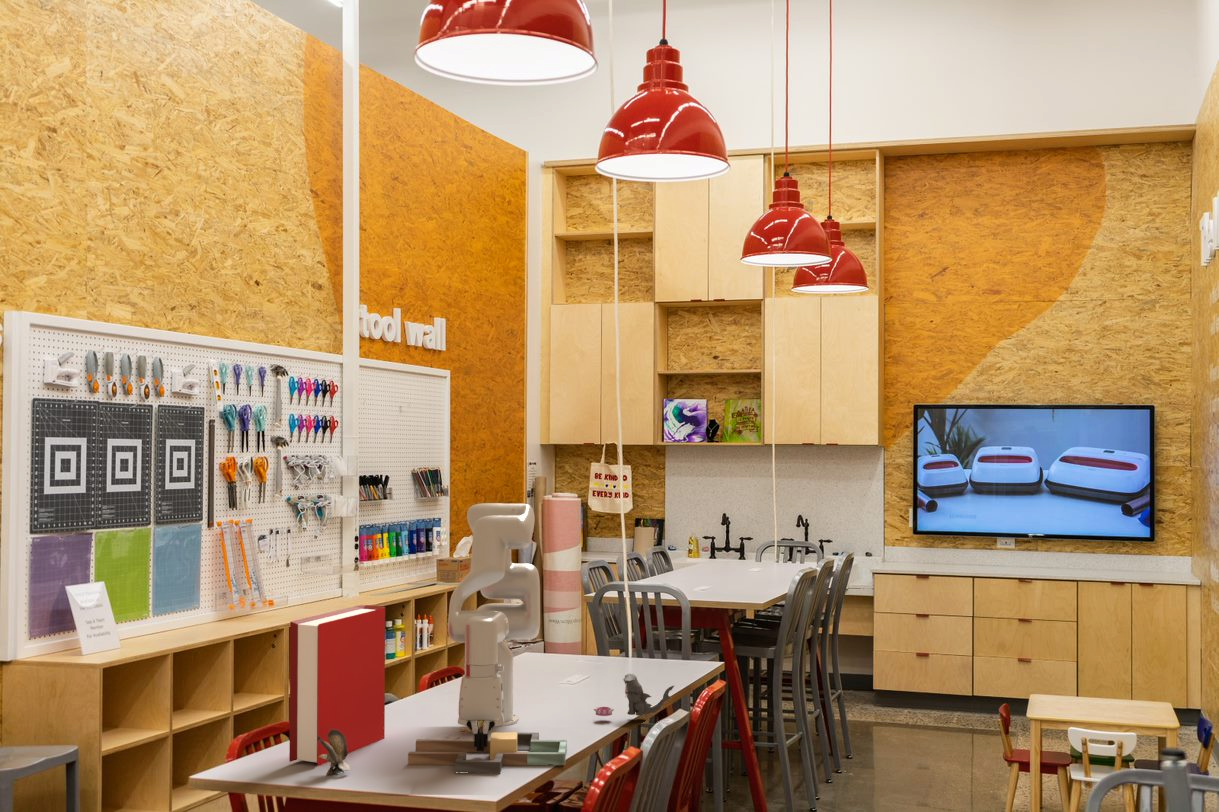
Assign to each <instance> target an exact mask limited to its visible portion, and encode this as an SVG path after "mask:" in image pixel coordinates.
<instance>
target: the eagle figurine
mask: <svg viewBox="0 0 1219 812" xmlns="http://www.w3.org/2000/svg"><path fill="white" fill-rule="evenodd" d="M328 739H329V742H330V744H329V743H327V742H325V741H323V740H322V739H321V738H320V737H319V736H318V740H319V741H320V742H321V743H322V744H323V745H324V747H325V748H326V750H327V751H328V755H325V754H323V755H321V756H319V758H323V759H326V760H327V761H329V762H328V763H330V765H329V769H327V772H326V776H329V775H331V774H335V775H336V776H338V775H339V773H338V772H342V773H343V774H345V771H347V772H349V771H350V769H351V766H350V764H348V763H346V762H345V759H346V758H347V757H348V754H349V753H348V750H347V743H346V738H345V736H344V735H343V734H342V733H341V731H339V730H336V729H335V730H333V729H331V731H330V732H329V733H328Z"/></svg>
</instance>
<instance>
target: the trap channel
mask: <svg viewBox="0 0 1219 812" xmlns="http://www.w3.org/2000/svg"><path fill="white" fill-rule="evenodd" d="M497 733H501V732H499V731H498V732H497ZM567 752H568V740H567V739H540V733H539V732H517V752H497V754H496V757H495V759H494V760H490V759H467V753H490V739H488V746H487V747H485V749H484V751H477V747H474V739H445V738H444V739H437V738H436V739H434V738H433V739H431V738H430V739H427V738H426V739H425V738H424V739H423V738H422V739H421V738H419V739H416V740H415V751H408V753H407V765H409V766H411V765H412V766H413V765H414V766H415V765H416V766H417V765H418V766H419V765H420V766H422V765H423V766H427V765H428V766H429V765H430V766H435V765H437V766H439V765H440V766H442V765H443V766H445V765H446V766H447V765H449V766H455V767H454V773H455V772H468V773H467V774H501V773H500V772H502V769H503V766H549V765H548V764H553V765H552V766H566V758H567Z"/></svg>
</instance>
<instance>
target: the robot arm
mask: <svg viewBox="0 0 1219 812" xmlns="http://www.w3.org/2000/svg"><path fill="white" fill-rule="evenodd" d="M466 515H467V516H466V517H467V523H468V527H469V529H470V530H471V532H472V540H471V541H472V544H471V559H470V571H469V573H468V574H466V575H465V576H464V577H463V578H462V579H461V581H460V582H458V584H457V585H456V587H455V588H454V590H453V592H452V594H451V597H450V599H449V609H448V619H447V632H448V636H449V638H450V640H452V641H453V642H456V643H463V644H464V674H463V675H462V676H461V680H460V687H459V698H458V718H457V724H458V725H460V726H466V727H468V728H469V729H470V730H471V731H470V732H472V734H473V740H474V747H477V751H484V749H485V747H487V746H488V740H489V734H488V733H490V731H491V729H493V728H494V727H497V728H498V727H506V726H507V725H508V726H512V724H513V725H515V723H516V724H518V723H519V722H518V721H520V717H519V716H518V715H516V714H514V655H513V652H512V651H511V649H510V648H509V646H508V644H506V643H505V641H511V640H514V641H516V640H517V641H519V640H521V641H522V640H524V641H525V640H526V641H527V640H533V639H536V638H537V637H538V636H539V633H540V629H541V584H540V582H541V581H540V580H541V579H540V575H539V574H540V573H539V570H538V568H537V567H536V566H535V565H533V564H531V563H517V562H516V563H515V562H513V561H512V550H525V549H527V548H529V547H530V544H531V542H532V538H533V535H534V534H533V533H534V528H535V520H536V517H535V512H534V509H533V507H532V506H531V505H530V504H527V503H502V502H501V503H497V502H496V503H493V502H490V503H488V502H486V503H477V504H473V505H471V506H470V507H469V508H468V509H467V514H466ZM479 591H480V594H481V595H482V596H483V597H484V598H485V599H489V600H520V601H522V603H509V602H508V603H507V602H504V603H503V602H502V603H501V602H500V603H499V602H497V603H493V602H492V603H486V604H482V605H480V606H479V607H477V609H476V610H462V607H463V604H464V602H465V601H466V599H467V598H469V597H470V596H472V595H474V593H476V592H479ZM478 721H484V723H483V724H482V725H481V727H482V726H483V730H481V729H479V724H478ZM517 722H518V723H517Z"/></svg>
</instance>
